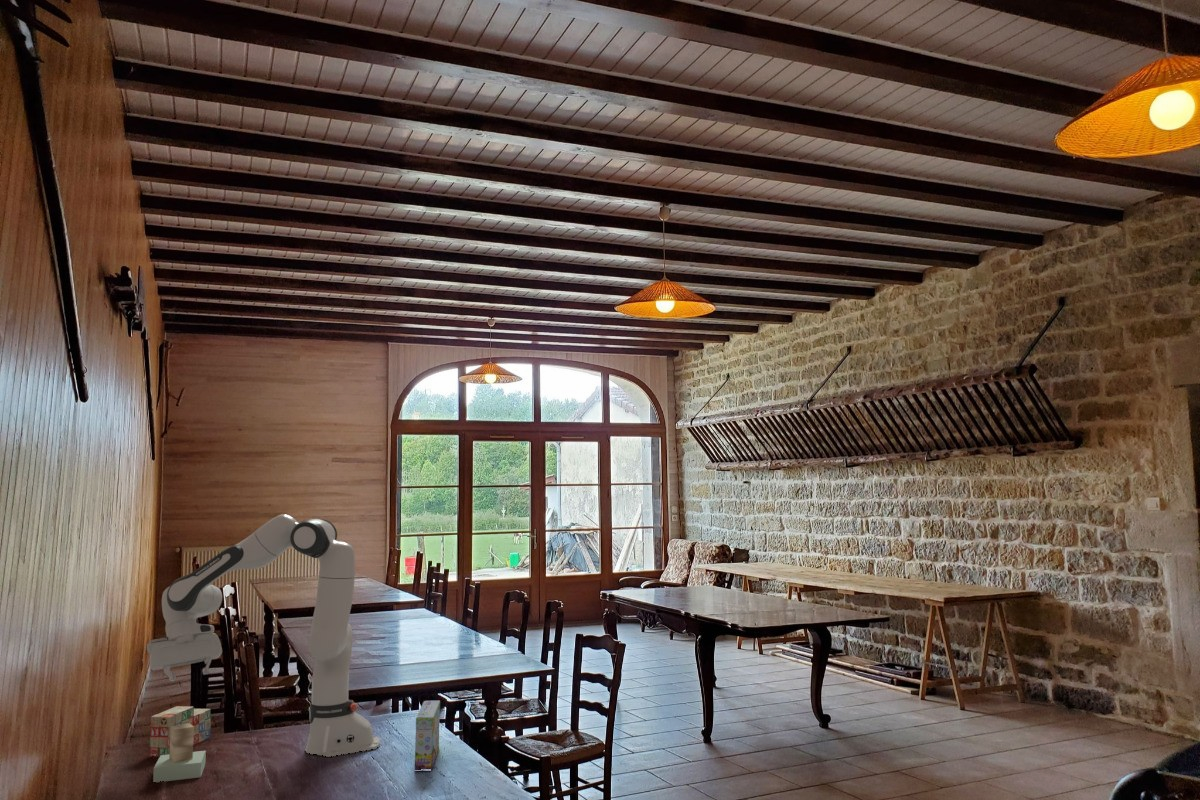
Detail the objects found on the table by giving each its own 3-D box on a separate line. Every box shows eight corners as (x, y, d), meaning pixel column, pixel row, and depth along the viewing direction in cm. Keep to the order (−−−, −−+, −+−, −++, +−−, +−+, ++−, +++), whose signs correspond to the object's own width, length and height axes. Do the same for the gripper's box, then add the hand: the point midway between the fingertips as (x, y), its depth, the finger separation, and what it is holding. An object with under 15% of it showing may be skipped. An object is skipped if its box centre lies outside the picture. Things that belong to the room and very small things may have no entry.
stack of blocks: (193, 737, 277) (194, 698, 278) (210, 737, 276) (211, 699, 277) (148, 757, 256) (150, 715, 257) (167, 758, 255) (169, 716, 256)
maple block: (188, 755, 244) (189, 723, 245) (192, 759, 240) (193, 726, 241) (169, 758, 240) (170, 726, 241) (173, 762, 237) (174, 729, 238)
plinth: (205, 764, 247) (205, 750, 248) (200, 777, 236) (201, 762, 236) (160, 769, 243) (160, 755, 244) (153, 782, 232) (153, 767, 233)
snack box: (433, 771, 237) (434, 717, 239) (413, 772, 237) (414, 717, 238) (440, 749, 258) (440, 699, 260) (422, 750, 258) (422, 699, 259)
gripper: (147, 636, 252) (154, 680, 246) (219, 624, 266) (227, 666, 260) (143, 645, 256) (150, 688, 250) (214, 632, 270) (221, 673, 264)
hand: (189, 677), depth 255 cm, fingers open, 8 cm apart
